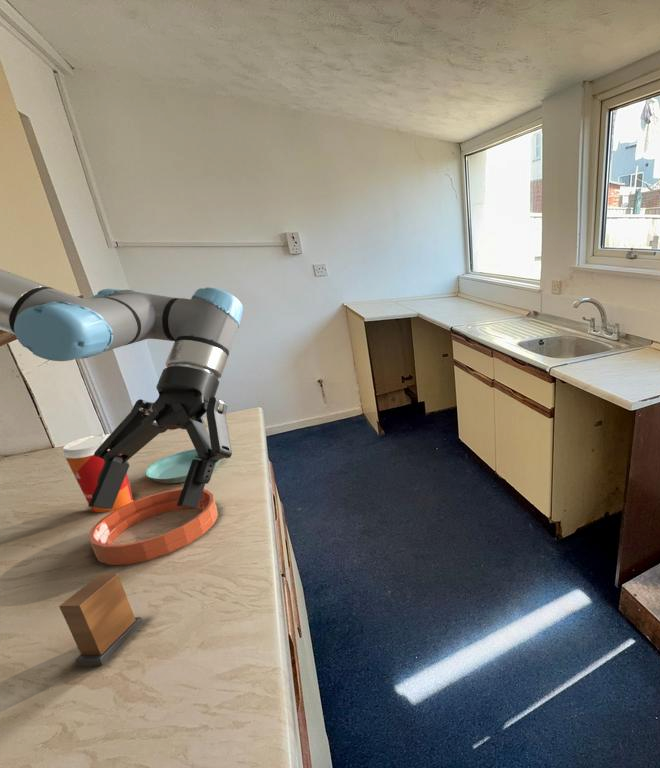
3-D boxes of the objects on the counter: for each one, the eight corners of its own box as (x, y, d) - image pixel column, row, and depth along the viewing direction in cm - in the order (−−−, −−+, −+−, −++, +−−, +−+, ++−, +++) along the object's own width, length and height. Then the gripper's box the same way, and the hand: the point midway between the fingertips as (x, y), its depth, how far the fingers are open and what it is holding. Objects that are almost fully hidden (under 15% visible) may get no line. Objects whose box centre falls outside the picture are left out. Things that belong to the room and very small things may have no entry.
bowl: (67, 570, 66) (57, 547, 64) (153, 507, 82) (147, 488, 81) (173, 567, 66) (166, 545, 65) (238, 505, 82) (233, 487, 81)
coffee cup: (100, 500, 84) (76, 436, 80) (147, 492, 87) (127, 430, 82) (75, 523, 77) (47, 454, 72) (128, 514, 80) (104, 447, 75)
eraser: (104, 670, 50) (77, 609, 47) (80, 671, 50) (51, 609, 46) (145, 627, 55) (123, 570, 52) (123, 628, 55) (100, 571, 52)
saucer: (136, 494, 86) (133, 484, 85) (161, 463, 99) (158, 454, 98) (217, 480, 92) (215, 470, 91) (231, 452, 105) (229, 443, 104)
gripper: (278, 381, 68) (243, 509, 59) (145, 385, 70) (92, 510, 61) (248, 360, 61) (203, 503, 52) (101, 366, 63) (34, 504, 54)
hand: (143, 507), depth 57 cm, fingers open, 13 cm apart
